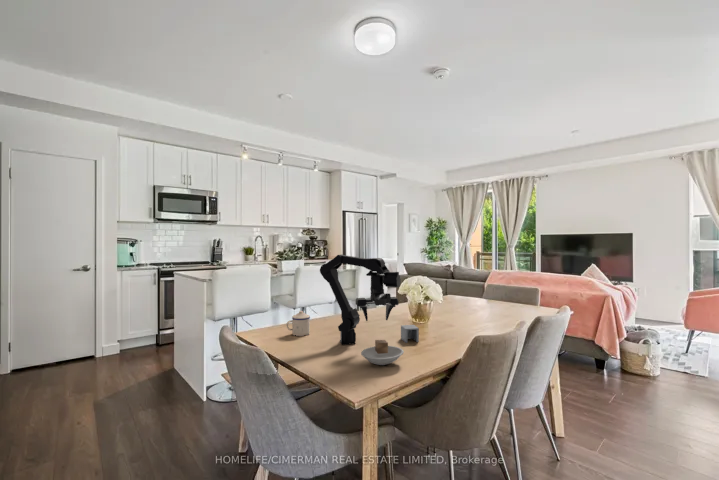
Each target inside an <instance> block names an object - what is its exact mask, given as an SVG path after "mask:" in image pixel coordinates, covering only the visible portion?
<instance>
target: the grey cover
mask: <svg viewBox="0 0 719 480" xmlns="http://www.w3.org/2000/svg"><path fill="white" fill-rule="evenodd" d="M419 329H420V328H419V327H418V326H417V325H415V324H405V325H404V324H403V325H400V339H401V340H402V341H403V343H406V344H407V343H408V341H409V340H410V339H411V340H413V341H415V342H416V343H419V342H420V336H419V335H420V330H419Z"/></svg>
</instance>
